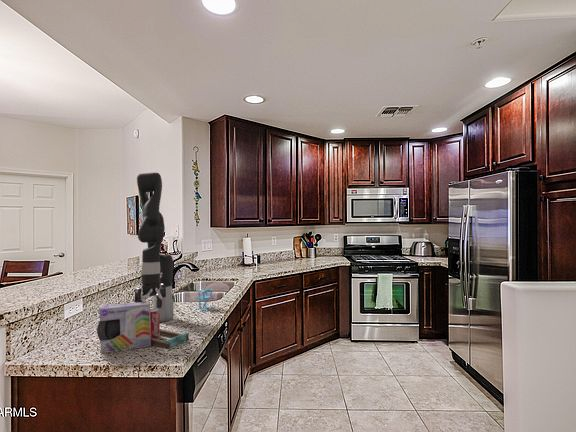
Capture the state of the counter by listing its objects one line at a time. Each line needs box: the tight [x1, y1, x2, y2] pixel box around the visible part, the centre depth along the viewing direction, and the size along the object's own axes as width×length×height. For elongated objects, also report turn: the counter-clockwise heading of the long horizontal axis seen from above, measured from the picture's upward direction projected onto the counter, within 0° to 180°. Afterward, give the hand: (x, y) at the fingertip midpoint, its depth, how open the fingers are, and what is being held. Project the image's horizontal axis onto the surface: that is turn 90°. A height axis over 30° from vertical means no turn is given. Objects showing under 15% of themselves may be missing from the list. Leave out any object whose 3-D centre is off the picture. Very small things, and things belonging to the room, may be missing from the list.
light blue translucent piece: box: [196, 288, 215, 312], centre depth 198 cm, size 8×8×12 cm
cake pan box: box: [96, 301, 152, 353], centre depth 138 cm, size 19×5×18 cm, turn 108°
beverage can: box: [150, 308, 161, 339], centre depth 149 cm, size 6×6×12 cm
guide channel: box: [151, 329, 190, 350], centre depth 147 cm, size 11×21×3 cm, turn 61°
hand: (150, 310), depth 149 cm, fingers open, 8 cm apart
